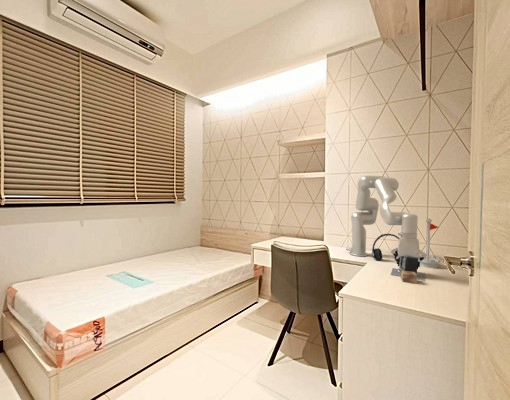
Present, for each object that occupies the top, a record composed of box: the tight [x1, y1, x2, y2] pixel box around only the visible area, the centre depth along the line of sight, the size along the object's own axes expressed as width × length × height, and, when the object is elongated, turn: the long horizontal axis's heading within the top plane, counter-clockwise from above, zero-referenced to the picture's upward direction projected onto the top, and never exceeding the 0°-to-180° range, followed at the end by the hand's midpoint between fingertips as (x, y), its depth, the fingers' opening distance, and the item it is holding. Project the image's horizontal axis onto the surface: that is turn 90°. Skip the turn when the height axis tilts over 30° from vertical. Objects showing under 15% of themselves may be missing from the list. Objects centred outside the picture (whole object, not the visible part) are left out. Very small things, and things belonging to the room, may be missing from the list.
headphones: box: [371, 233, 400, 262], centre depth 170 cm, size 20×7×18 cm, turn 81°
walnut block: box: [400, 270, 418, 285], centre depth 129 cm, size 6×6×5 cm
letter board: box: [390, 267, 426, 282], centre depth 140 cm, size 16×16×1 cm
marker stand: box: [419, 218, 441, 269], centre depth 160 cm, size 13×13×30 cm
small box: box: [398, 256, 418, 275], centre depth 140 cm, size 11×6×10 cm, turn 165°
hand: (407, 266), depth 140 cm, fingers open, 8 cm apart
